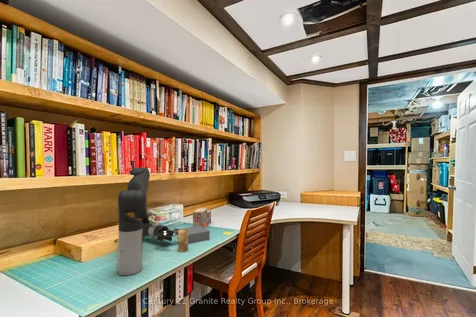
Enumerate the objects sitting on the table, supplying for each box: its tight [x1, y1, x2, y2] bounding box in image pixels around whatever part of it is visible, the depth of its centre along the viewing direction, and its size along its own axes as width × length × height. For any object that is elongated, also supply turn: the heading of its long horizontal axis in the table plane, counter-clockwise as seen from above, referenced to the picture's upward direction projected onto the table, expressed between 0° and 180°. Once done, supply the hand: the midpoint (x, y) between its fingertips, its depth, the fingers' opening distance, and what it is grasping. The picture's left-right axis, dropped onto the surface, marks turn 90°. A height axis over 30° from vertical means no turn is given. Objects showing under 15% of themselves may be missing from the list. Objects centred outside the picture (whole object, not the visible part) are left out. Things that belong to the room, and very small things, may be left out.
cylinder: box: [177, 228, 189, 253], centre depth 126 cm, size 5×5×10 cm
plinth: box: [176, 225, 211, 245], centre depth 144 cm, size 14×14×5 cm
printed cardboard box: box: [192, 207, 212, 229], centre depth 171 cm, size 21×6×12 cm, turn 170°
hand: (178, 236), depth 128 cm, fingers open, 8 cm apart
